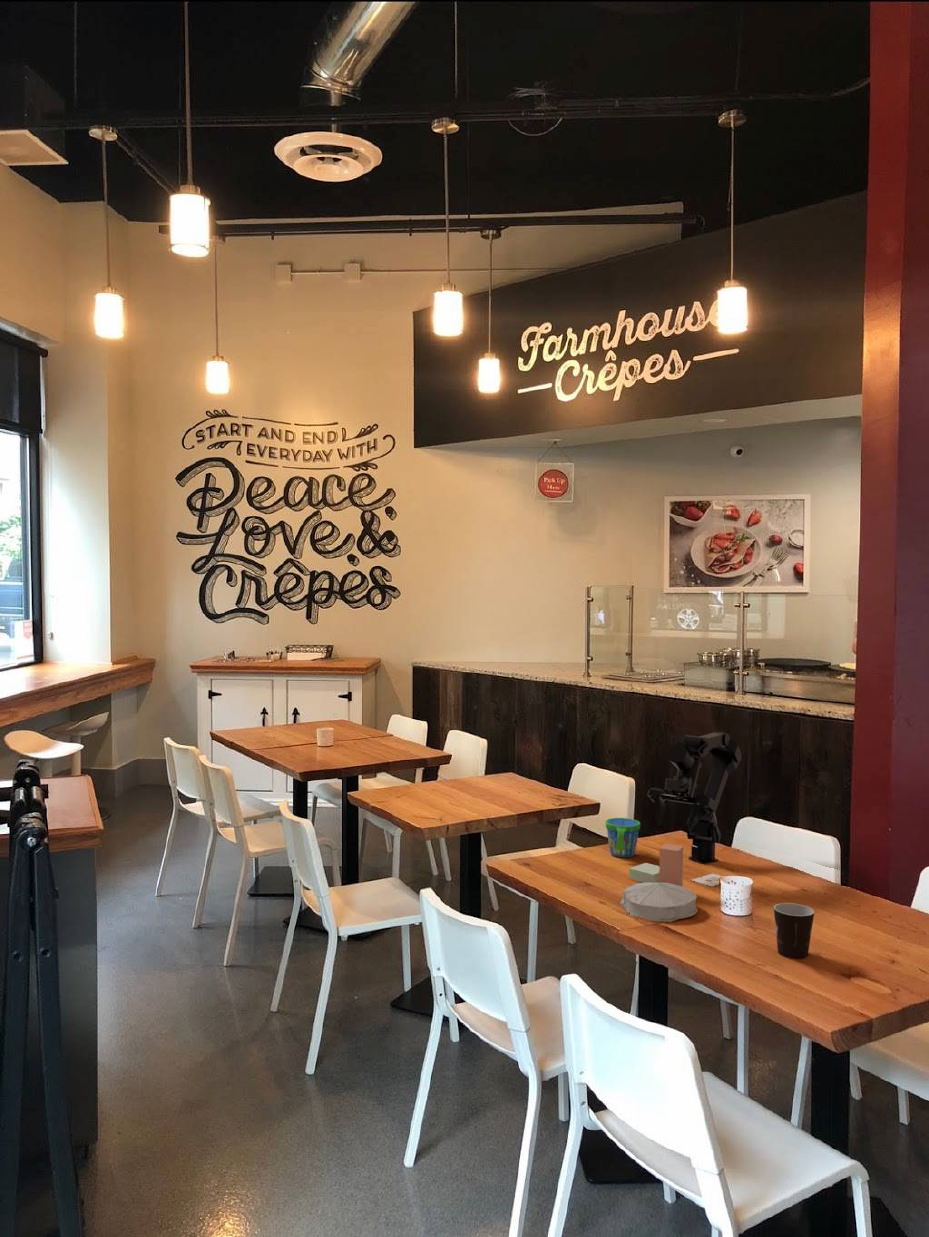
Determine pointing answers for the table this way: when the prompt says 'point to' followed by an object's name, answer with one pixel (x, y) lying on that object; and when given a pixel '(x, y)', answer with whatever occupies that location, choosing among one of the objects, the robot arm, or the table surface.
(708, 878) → the page
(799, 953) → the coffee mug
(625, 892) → the grey round stone disc
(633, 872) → the base brick
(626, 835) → the snack cup
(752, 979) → the table surface
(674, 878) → the tall brick
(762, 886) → the table surface
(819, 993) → the table surface
